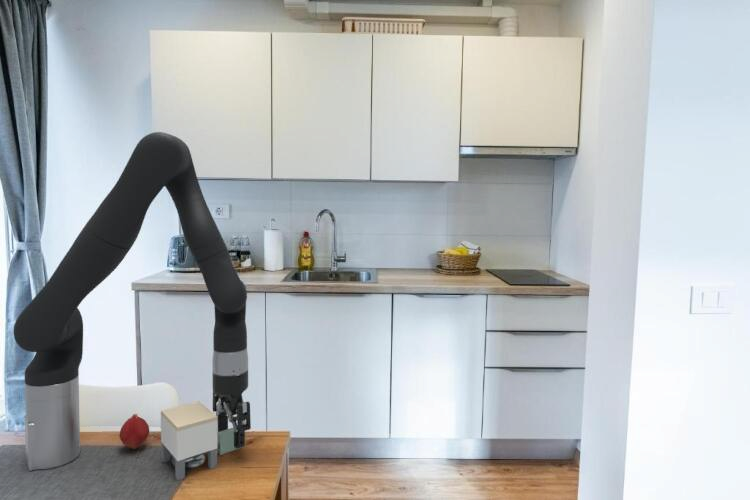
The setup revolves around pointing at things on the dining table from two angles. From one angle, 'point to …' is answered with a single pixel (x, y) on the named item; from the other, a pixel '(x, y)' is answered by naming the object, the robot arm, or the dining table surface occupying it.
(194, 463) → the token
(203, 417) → the cabinet
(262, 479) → the dining table surface
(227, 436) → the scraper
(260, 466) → the dining table surface
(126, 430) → the onion
